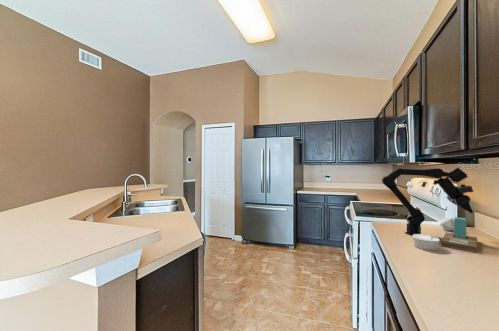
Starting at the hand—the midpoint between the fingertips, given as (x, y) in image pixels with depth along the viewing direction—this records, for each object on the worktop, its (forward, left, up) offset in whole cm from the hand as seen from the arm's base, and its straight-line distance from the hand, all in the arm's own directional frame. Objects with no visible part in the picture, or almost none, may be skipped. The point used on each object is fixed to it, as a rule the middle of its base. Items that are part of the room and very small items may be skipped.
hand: (469, 211), depth 131 cm
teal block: (-7, -1, -16) cm, 17 cm away
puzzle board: (-11, -5, -16) cm, 20 cm away
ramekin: (-33, -8, -16) cm, 38 cm away
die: (+6, +18, -16) cm, 25 cm away
